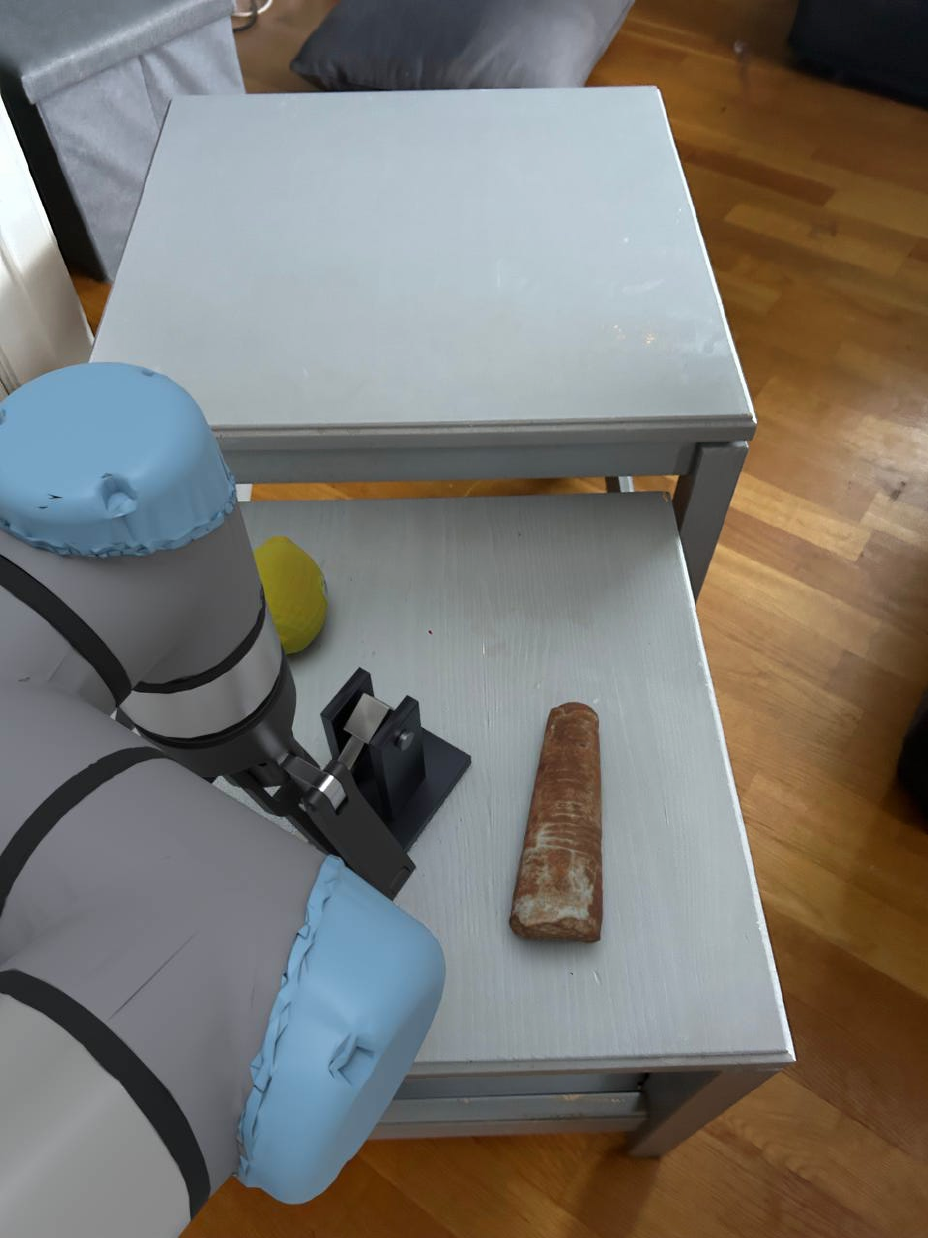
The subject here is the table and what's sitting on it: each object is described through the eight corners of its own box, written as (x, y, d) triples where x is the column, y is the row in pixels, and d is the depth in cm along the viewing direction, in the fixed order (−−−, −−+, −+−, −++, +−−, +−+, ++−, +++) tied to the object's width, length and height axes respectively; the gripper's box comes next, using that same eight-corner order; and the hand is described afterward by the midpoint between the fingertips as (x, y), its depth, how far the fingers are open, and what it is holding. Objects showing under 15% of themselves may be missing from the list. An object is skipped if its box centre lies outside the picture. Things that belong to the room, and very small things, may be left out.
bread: (505, 947, 66) (507, 923, 62) (542, 712, 77) (546, 677, 72) (595, 964, 66) (603, 941, 61) (619, 724, 76) (628, 689, 72)
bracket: (390, 877, 69) (375, 806, 59) (294, 814, 72) (263, 736, 62) (471, 762, 74) (471, 679, 64) (379, 708, 77) (364, 619, 67)
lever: (326, 896, 64) (312, 898, 61) (257, 849, 65) (241, 850, 63) (423, 725, 65) (413, 721, 62) (353, 684, 66) (340, 678, 64)
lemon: (321, 681, 79) (307, 627, 72) (230, 673, 79) (208, 619, 73) (344, 577, 85) (333, 519, 78) (259, 571, 85) (241, 512, 79)
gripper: (478, 741, 41) (478, 897, 58) (69, 503, 48) (178, 704, 66) (374, 885, 37) (407, 1005, 55) (-48, 604, 45) (100, 787, 63)
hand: (282, 841), depth 60 cm, fingers open, 13 cm apart
